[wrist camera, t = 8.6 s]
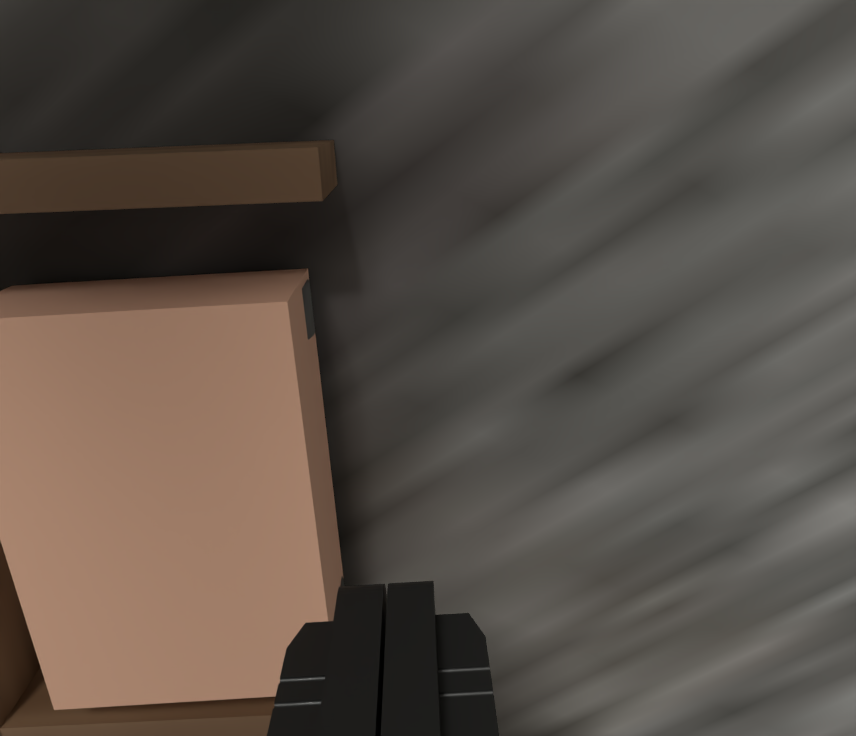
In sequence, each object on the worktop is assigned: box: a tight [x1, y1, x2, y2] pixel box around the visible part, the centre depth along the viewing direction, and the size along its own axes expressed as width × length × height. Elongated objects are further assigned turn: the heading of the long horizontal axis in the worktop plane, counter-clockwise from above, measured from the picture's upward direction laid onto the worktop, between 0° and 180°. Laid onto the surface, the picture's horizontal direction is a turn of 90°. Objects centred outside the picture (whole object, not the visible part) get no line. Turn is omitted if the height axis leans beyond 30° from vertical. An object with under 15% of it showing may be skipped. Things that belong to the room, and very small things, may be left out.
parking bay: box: [0, 140, 337, 736], centre depth 17 cm, size 15×10×3 cm
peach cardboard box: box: [0, 268, 344, 710], centre depth 17 cm, size 10×7×4 cm
